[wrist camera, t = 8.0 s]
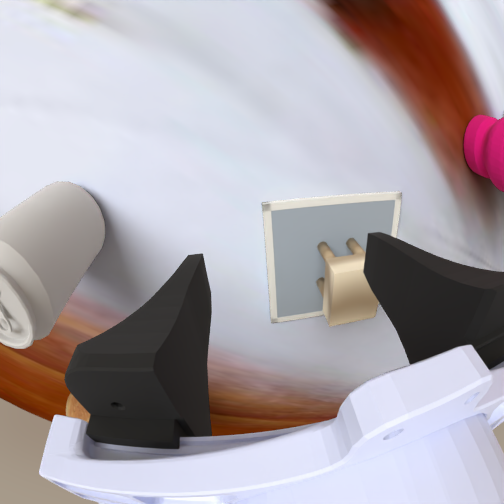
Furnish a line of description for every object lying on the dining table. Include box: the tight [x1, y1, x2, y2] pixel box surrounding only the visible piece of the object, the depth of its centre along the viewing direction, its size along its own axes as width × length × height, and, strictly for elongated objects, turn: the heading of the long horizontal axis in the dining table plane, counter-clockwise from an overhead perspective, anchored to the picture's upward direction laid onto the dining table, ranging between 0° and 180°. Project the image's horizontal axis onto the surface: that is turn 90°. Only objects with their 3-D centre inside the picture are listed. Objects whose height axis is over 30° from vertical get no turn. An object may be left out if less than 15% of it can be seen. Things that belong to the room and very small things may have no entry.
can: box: [0, 182, 105, 349], centre depth 15 cm, size 8×8×12 cm
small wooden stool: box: [316, 238, 379, 327], centre depth 22 cm, size 5×4×5 cm
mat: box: [262, 191, 402, 323], centre depth 25 cm, size 12×12×1 cm
